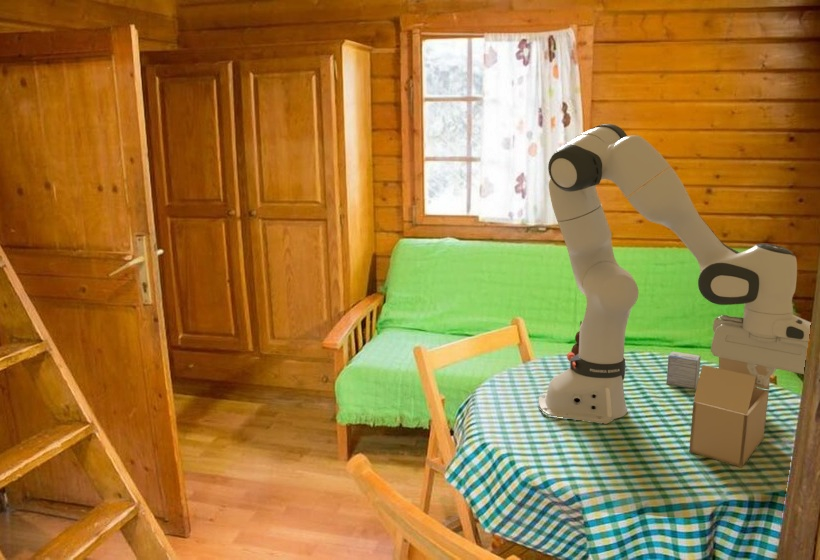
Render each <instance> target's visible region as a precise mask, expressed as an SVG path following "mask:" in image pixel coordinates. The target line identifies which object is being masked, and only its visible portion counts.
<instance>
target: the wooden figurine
mask: <svg viewBox="0 0 820 560" xmlns="http://www.w3.org/2000/svg"><path fill="white" fill-rule="evenodd" d="M579 322H580V323H579V326H580V325H581V323H582V322H583V320H580V321H579ZM579 337H580V330H578V331H577V332H576V334H575V336H574V338H575V339H574V340H575V343H574V345H572V347H571V350H570V352H572V353H574V355H577V354H578V353H579Z"/></svg>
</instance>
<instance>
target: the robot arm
mask: <svg viewBox="0 0 820 560" xmlns="http://www.w3.org/2000/svg"><path fill="white" fill-rule="evenodd" d="M547 170H548V175H549V177H550V179H549V182H548V190H549V196H550V201H551V205H552V210H553V212H554V216H555V218H556V222H557V224H558V227H559V230H560V232H561V235H562V239H563V240H564V241H563V242H564V243H565V245H566V248H567V252H568V256H569V261H570V265H571V269H572V272H573V273H572V274H573V276H574V279H575V283H576V286H577V289H578V290H579V291H580V292H581V294H583V295H584V296H585V298H586V306H585V307H586V309H585V313H584V317H583V320H582V323H581V325H580V324H579V331H580V337H579V353H578V354H577V355H574V353H572V352H571V351H570V352H568V353H567V354H566V358H567V361H569V366H570V367H569V368H567V369H566V370H563V372H561V373H559V374H558V375H556V376H554V377H553V378H552V379H551V380H550V382H549V384H548V387H547V392H544V393H541V394H540V395H539V396H538V402H537V404H538V403H539V407H540V409H541V410H542V411H543V412H544V413H546V414H547V415H551V416H557V417H563V418H569V419H576V420H584V421H583V422H585V421H590V422H589V423H593V422H597V423H596V424H602V423H604V425H607V424H610V423H611V422H612V421H613V420H617V419H620V418H622V417H624V416H625V415H626V414H627V413H628V408H627V404H626V399H625V392H624V391H625V389H624V380H625V376H626V358H625V354H624V353H625V343H626V342H625V341H626V340H625V339H626V329H627V325H628V323H629V322H628V321H629V318H630V314H631V311H632V309H633V307H634V305H635V304H637V303H636V302H637V301H638V299H639V287H638V284H637V283H636V281H635V279H634V277H633V275H632V274H631V273H630V272H629V271H627V270H626V269H625V268H623V267H621V266H620V265H619V264H618V262H617V260H616V257H615V255H614V249H613V244H612V231H611V227H610V225H609V222H608V220H607V217H606V213H605V211H604V208H603V205H602V202H601V200H600V197H599V194H598V192H597V188H596V186H598V185H599V184H600V183H601V181H602V180H608V181H611V182H612V183H613V184H615V185H616V186H617V187H618V188H619V190H620V191H621V192H622V194H623V196H624V197H625V198H626V200H627V201H628V202H629V204H630V205H631V206H632V207H633V208H634V209H635V210H636V212H637V213H639V214H640V215H641V216H642V217H643V218H645V219H646V220H647V221H649V222H651V223H655V224H659V225H661V226H663V227H666V228H668V229H669V230H671V231H672V232H673V233H674V234H676V236H677V237H678V238H679V239H680V241H681V242H682V244H684V245H685V247H686V248H687V249H688V250H689V252H690V253H691V254H692V255H693V256H694V258H695V259H696V261H697V263H698V265H699V269H700V270H699V271H700V273H699V276H698V280H697V285H698V286H697V287H698V290H699V293H700V294H701V295H702V296H703V298H704V299H705V300H707V301H708V302H710V303H712V304H714V305H721V306H729V305H742V304H743V305H744V308H743V317H739V316H730V315H727V314H722V315H721V316H719V315H718V316H716V318H714V320H713V323H712V331H713V332H714V333H713V337H712V341H711V345H710V353H712V355H713V356H714V357H717V358H719V357H722V358H727V359H731V360H736V361H741V362H746V363H748V365H747V368H748V370H749V372H750V374H751V376H756V380H755V384H758V385H762V386H767V385H768V383H769V377H771V376H772V375H773V374H775V372H776V371H777V370H781V371H786V372H791V373H794V374H795V373H796V374H800V375H805V374H804V367H805V360H806V356H807V348H808V341H809V334H810V325H811V323H812V322H811V321H808V320H807V319H804V318H801V317H800V316H797V315H795V314H793V313H794V312H793V311H794V306H793V297H794V294H795V293H796V287H797V279H798V278H797V276H798V275H797V274H798V263H797V261H798V260H797V257H796V256H795V254H794V253H793V252H792V251H791V250H789V249H788V248H786V247H784V246H781V245H777V244H771V243H762V242H761V243H756V244H754V245H753V246H752V247H750V248H748V249H746V250H744V251H741V252H739V251H738V250H736V249H733V248H731V247H730V246H728V245H726V244H725V243H724V242H723V241H721V240H720V238H719V237H718V236H717V235H716V234H715V232H714V231H713V230H712V229H711V228H710V226H709V225H708V224H707V222H706V221H705V220H704V219H703V217H701V215H700V214H699V212H698V211H697V209H696V207H695V205H694V204H693V201H692V199H691V197H690V196H689V193H688V192H687V189H686V188H685V185H684V183H683V182H682V180H681V179H680V177H679V176H678V174H677V172H676V171H675V169H673V167H672V166H671V164H669V162H668V161H667V160H666V159H665V157H663V155H662V154H661V153H660V152H659V151H658V150H657V149H656V148H655V147H654V146H653V145H652V144H651V143H650V142H648V141H647V139H645V138H644V137H642V136H640V135H637V134H635V135H634V134H633V135H627V133H626V132H625V130H624V129H623V128H621V127H620V126H618V125H616V124H612V123H606V124H605V123H604V124H600V125H599V124H598V125H597V126H594V127H593V128H590V129H588V130H587V131H584V132H582V133H580V134H578V135H576V136H575V137H574V138H573V139H572V140H570V141H569V142H567V143H565V145H562V146H560V147H559V148H558V149H557V150H555V151H554V153H553V154H552V155H551V157H550V159H549V162H548V168H547ZM757 365H761V366H766V367H767V370H766V371H767V372H769V373H768V374H767V375H766V376H764V375H759V374H758V373H757V371H756V369H755V367H756V366H757ZM769 384H770V383H769ZM542 397H544V398H542ZM539 407H538V408H539ZM540 409H539V410H540ZM576 420H575V421H576Z"/></svg>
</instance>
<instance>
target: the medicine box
mask: <svg viewBox="0 0 820 560" xmlns="http://www.w3.org/2000/svg"><path fill="white" fill-rule="evenodd" d="M667 359H668V360H667V370H666V371H667V372H666V385H669V386H677V387H682V388H687V389H688V388H689V389H693V390H696V389H697V385H698V381H699V377H700V372H701V370H700V369H701V356H700V355H697V354H691V353H685V352H678V351H671V352H670V354H668V358H667Z"/></svg>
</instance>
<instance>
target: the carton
mask: <svg viewBox="0 0 820 560" xmlns="http://www.w3.org/2000/svg"><path fill="white" fill-rule="evenodd" d="M769 393H770V391H769V390H768V389H764V388H759V387H757V388H755V387H754V388H753V392H752V396H751V401H750V405H749V409H748V413H747V414H744V413H740V412H736V411H732V410H728V409H724V408H720V407H716V406H712V405H708V404H704V403H700V402H696V401H694V400H693V403H692V413H691V414H692V417H691V426H690V436H689V438H690V439H689V451H688V452H690V453H693V454H696V455H700V456H703V457H707V458H709V459H713V460H715V461H716V460H717V461H719V462H722V463H726V464H729V465H732V466H736V467H739V468H743V467H744V465H745V464H746V463H747V462H748V460H749V458H750V457H751V456H752V455H753V454H754V452H755V451H756V449H757V448H758V447H759V446H760V444H761V443H762V442H763V440H764V438H765V437H764V435H765V428H766V421H767V413H768V411H767V410H768V402H769ZM760 442H761V443H760ZM757 446H758V447H757ZM754 450H755V451H754Z"/></svg>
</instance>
